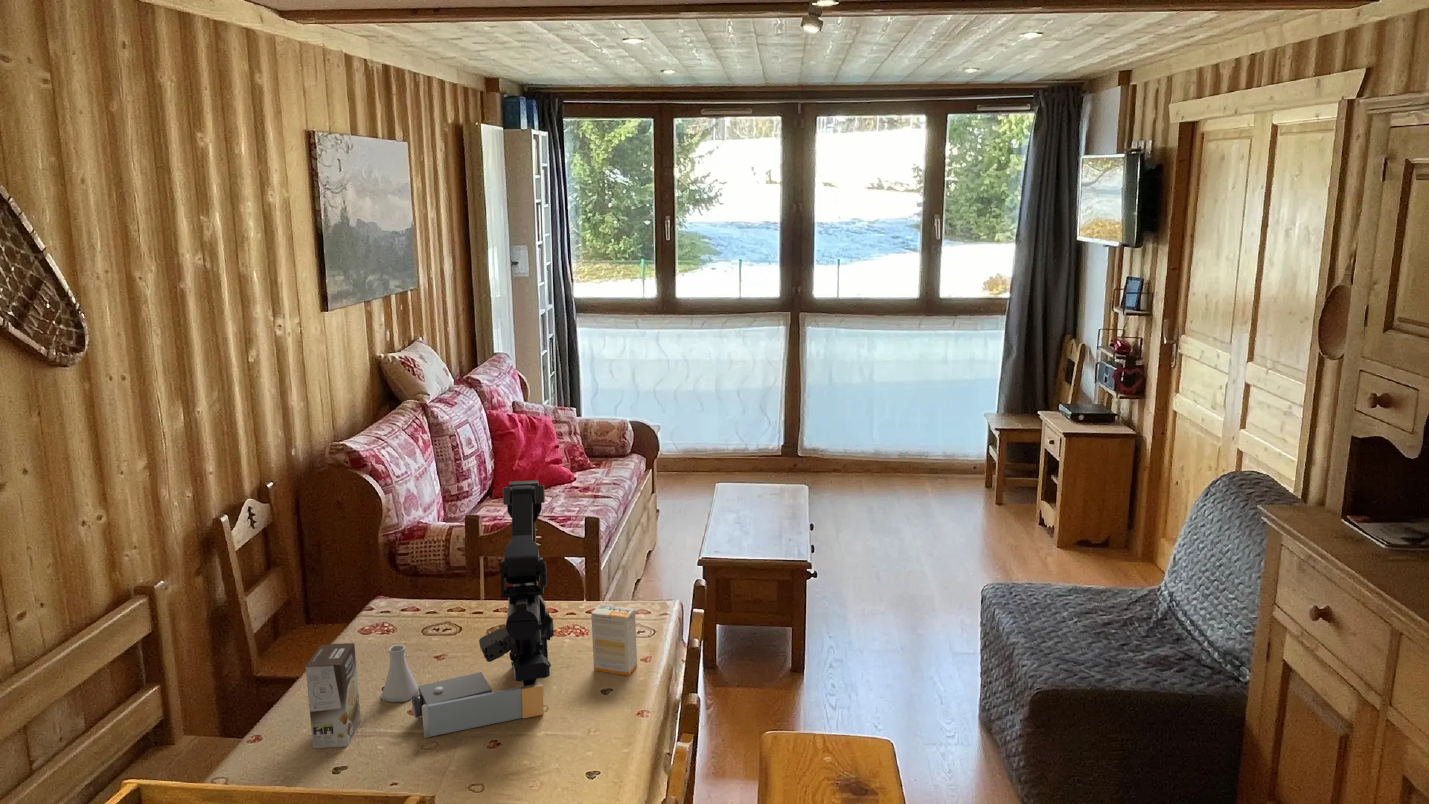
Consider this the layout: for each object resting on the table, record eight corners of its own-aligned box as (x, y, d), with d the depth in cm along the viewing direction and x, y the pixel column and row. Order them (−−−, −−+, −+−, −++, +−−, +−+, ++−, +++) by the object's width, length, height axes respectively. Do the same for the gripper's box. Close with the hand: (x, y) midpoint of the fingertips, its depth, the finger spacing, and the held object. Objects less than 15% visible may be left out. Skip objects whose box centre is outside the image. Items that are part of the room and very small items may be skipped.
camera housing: (482, 699, 195) (480, 669, 194) (493, 718, 188) (491, 686, 187) (412, 716, 189) (409, 685, 188) (420, 736, 182) (418, 703, 181)
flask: (408, 705, 194) (404, 658, 192) (374, 701, 195) (370, 654, 193) (425, 687, 201) (422, 641, 199) (393, 684, 202) (389, 638, 200)
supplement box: (638, 666, 209) (636, 608, 206) (628, 676, 204) (627, 617, 202) (602, 660, 212) (600, 603, 209) (592, 670, 207) (590, 612, 204)
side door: (542, 710, 191) (540, 682, 190) (543, 714, 190) (542, 685, 188) (423, 735, 183) (421, 705, 181) (424, 738, 181) (422, 708, 180)
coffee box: (348, 747, 179) (341, 665, 176) (312, 749, 179) (304, 666, 175) (362, 720, 188) (355, 642, 185) (327, 722, 188) (319, 643, 184)
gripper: (476, 601, 193) (481, 675, 196) (485, 643, 176) (490, 723, 179) (534, 594, 196) (537, 666, 200) (548, 635, 179) (551, 713, 182)
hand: (528, 691), depth 190 cm, fingers closed
